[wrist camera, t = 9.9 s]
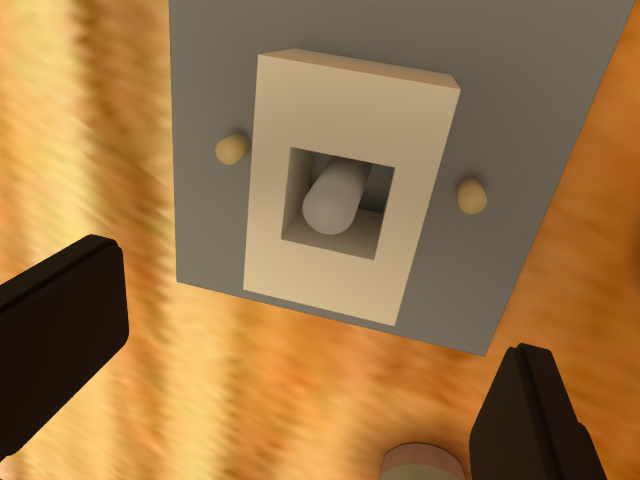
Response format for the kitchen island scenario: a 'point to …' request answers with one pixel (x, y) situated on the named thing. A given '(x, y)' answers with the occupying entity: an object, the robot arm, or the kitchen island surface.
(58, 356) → the robot arm
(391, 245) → the flange block
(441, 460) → the coffee cup
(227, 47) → the pin plate
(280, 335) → the kitchen island surface
